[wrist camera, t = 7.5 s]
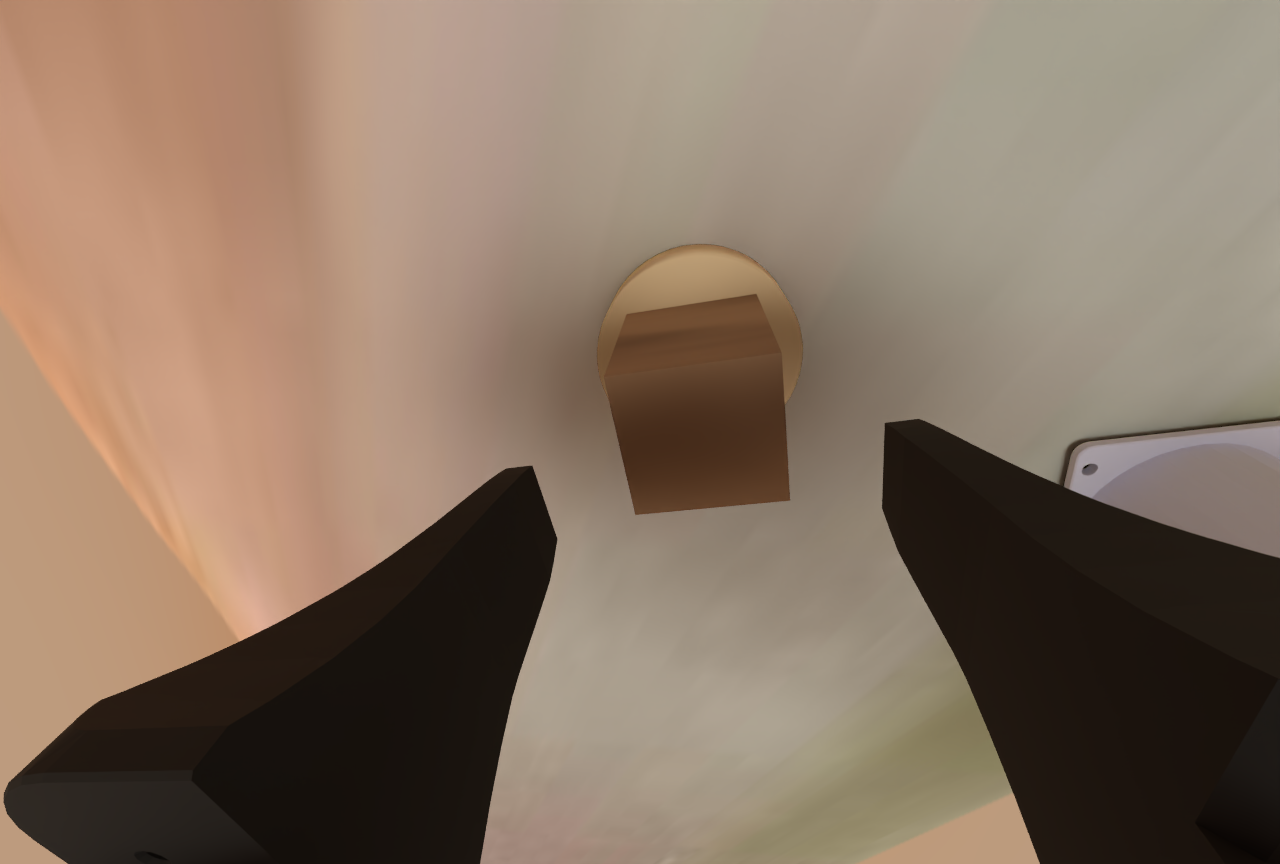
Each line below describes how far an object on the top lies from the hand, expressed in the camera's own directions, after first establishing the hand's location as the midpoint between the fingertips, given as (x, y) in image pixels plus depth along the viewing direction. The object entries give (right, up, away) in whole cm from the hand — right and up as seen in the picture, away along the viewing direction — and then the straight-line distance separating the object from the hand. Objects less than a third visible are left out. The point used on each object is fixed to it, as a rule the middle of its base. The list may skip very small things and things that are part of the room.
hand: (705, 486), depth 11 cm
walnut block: (+1, +3, +6) cm, 7 cm away
